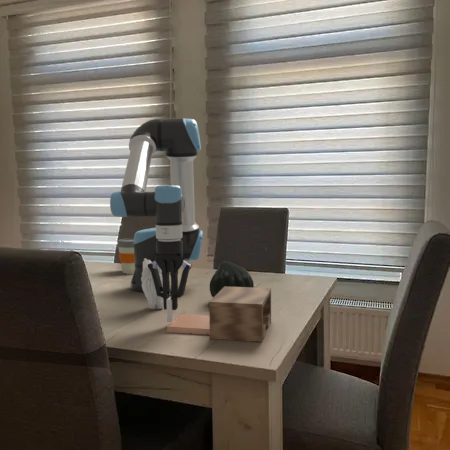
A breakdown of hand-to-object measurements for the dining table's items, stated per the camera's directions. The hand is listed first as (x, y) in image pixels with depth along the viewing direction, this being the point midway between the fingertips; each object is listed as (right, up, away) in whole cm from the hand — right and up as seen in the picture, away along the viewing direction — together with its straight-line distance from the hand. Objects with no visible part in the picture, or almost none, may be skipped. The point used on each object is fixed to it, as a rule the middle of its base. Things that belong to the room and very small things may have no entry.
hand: (171, 320), depth 135 cm
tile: (+10, -2, -2) cm, 10 cm away
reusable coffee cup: (-27, +6, +80) cm, 85 cm away
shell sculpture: (-7, 0, +18) cm, 20 cm away
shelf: (+20, -2, -4) cm, 21 cm away
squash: (+18, +1, +25) cm, 31 cm away
